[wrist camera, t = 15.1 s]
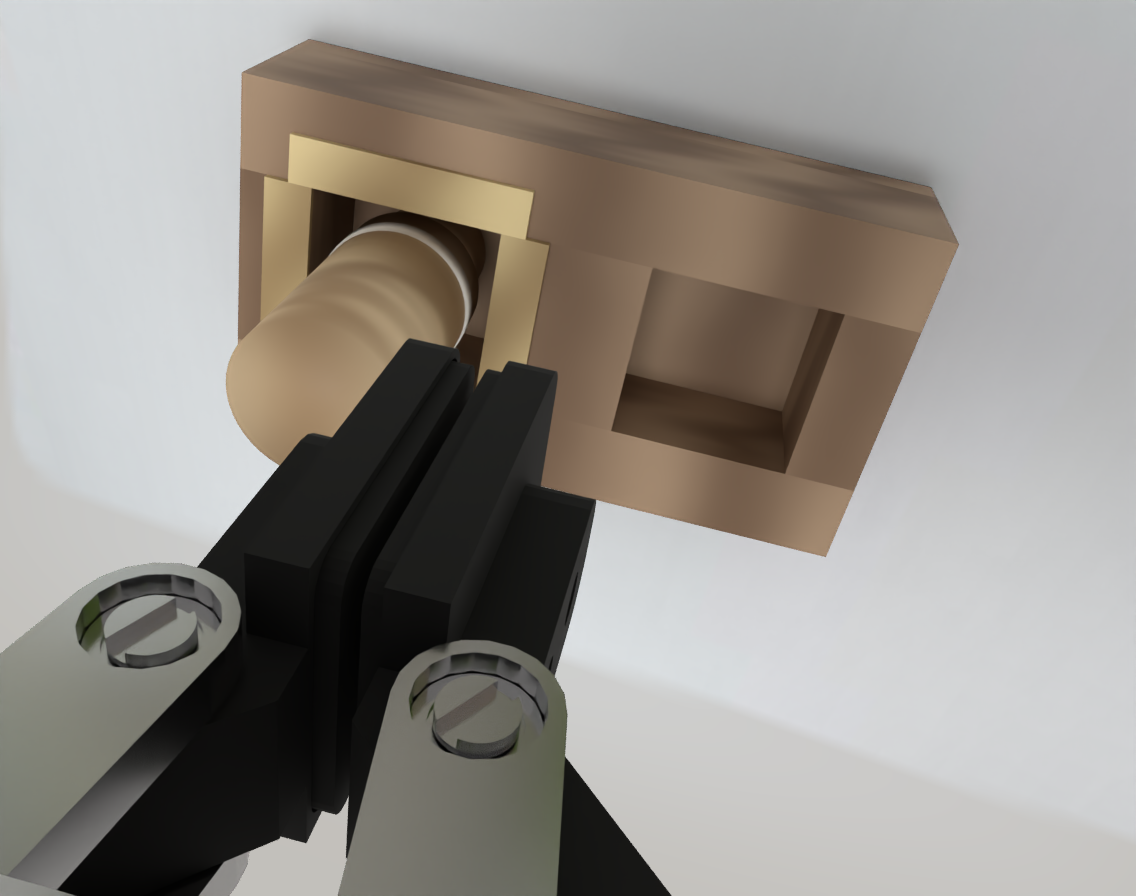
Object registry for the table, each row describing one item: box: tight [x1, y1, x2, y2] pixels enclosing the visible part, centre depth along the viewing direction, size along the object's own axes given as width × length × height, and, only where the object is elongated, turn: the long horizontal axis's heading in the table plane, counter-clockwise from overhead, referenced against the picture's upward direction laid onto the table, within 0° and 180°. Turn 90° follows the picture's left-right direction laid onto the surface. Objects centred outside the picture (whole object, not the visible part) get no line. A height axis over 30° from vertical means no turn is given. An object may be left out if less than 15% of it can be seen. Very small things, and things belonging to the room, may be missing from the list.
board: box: [238, 39, 959, 557], centre depth 33 cm, size 20×11×5 cm, turn 79°
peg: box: [226, 210, 486, 465], centre depth 29 cm, size 4×4×11 cm
